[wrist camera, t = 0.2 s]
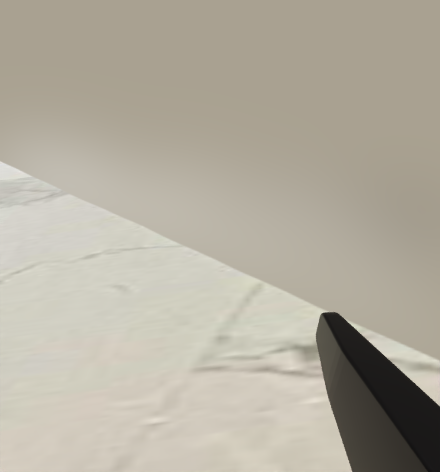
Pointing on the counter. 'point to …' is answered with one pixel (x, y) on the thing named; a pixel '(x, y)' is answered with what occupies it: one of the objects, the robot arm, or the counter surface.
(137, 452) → the counter surface
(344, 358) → the robot arm
